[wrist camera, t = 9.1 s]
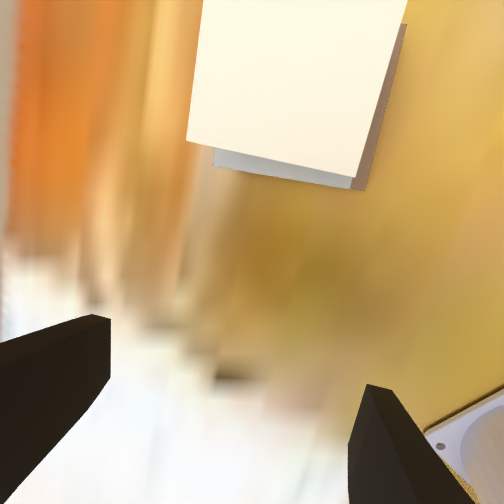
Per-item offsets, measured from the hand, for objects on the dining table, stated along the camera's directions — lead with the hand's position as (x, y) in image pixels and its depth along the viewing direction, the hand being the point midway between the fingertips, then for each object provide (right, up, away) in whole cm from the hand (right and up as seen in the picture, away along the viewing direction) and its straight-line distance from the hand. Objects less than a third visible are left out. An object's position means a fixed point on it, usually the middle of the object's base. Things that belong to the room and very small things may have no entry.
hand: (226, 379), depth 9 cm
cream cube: (+2, +9, +3) cm, 10 cm away
